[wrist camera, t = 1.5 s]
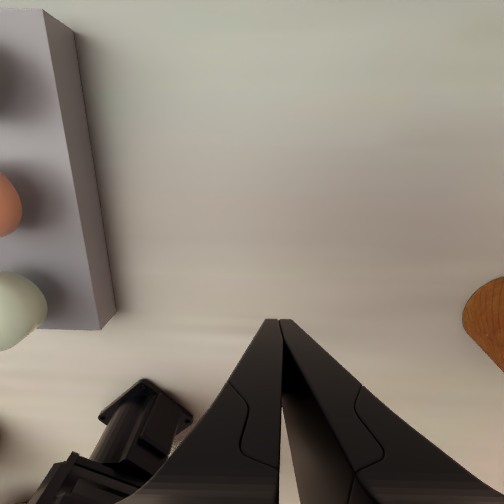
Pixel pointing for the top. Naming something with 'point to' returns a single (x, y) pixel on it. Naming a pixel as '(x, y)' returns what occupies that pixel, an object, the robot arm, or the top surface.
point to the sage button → (19, 308)
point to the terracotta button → (9, 207)
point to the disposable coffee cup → (487, 320)
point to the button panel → (51, 172)
